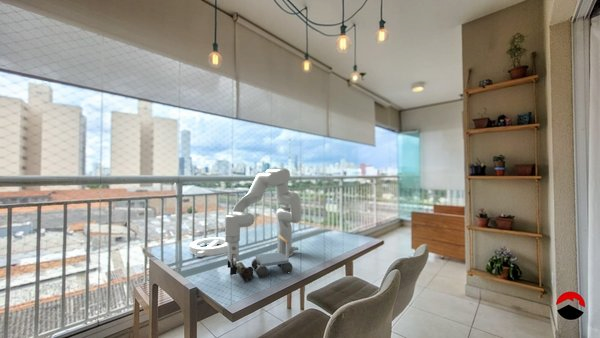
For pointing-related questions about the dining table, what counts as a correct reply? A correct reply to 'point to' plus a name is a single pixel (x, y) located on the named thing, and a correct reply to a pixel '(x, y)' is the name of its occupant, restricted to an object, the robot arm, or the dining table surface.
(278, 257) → the trolley
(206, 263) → the dining table surface
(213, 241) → the ring with crossbar
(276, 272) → the dining table surface
